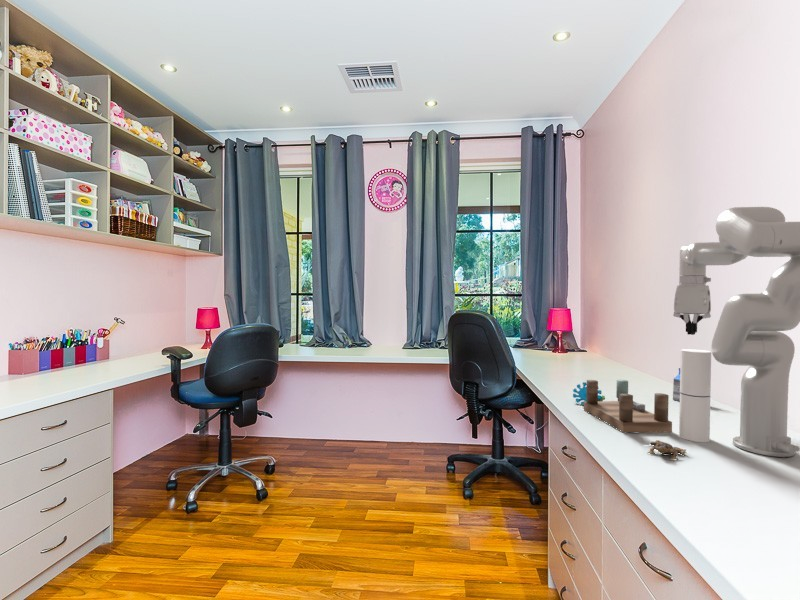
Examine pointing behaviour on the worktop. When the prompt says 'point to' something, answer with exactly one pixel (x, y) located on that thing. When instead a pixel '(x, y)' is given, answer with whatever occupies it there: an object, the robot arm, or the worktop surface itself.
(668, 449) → the frog figurine
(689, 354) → the cylindrical container
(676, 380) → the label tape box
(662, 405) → the stool seat
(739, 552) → the worktop surface
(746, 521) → the worktop surface
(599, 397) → the blue spiky piece
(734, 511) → the worktop surface
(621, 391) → the swing leg
